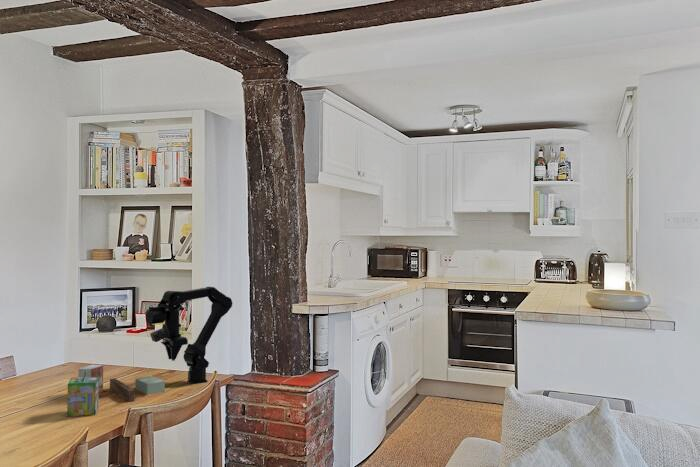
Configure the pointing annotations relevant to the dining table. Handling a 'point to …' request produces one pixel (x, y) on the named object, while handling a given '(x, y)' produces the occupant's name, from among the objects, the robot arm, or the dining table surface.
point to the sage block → (150, 385)
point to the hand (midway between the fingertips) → (171, 359)
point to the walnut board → (122, 390)
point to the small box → (93, 373)
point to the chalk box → (83, 396)
